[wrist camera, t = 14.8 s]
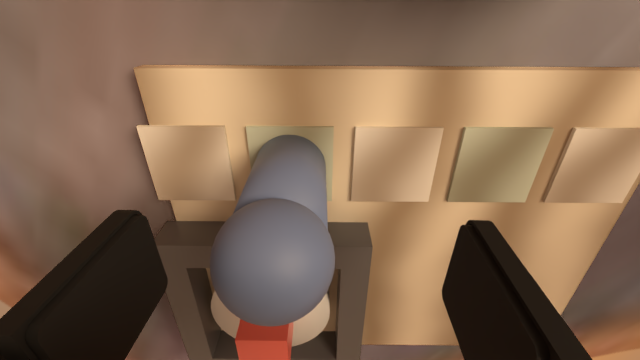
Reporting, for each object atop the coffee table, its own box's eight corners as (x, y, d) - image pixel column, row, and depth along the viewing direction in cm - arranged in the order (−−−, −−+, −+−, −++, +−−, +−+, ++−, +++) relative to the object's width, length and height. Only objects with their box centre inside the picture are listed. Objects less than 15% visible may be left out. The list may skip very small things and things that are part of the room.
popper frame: (367, 222, 17) (372, 247, 15) (355, 344, 22) (358, 373, 20) (167, 221, 17) (149, 245, 15) (203, 343, 22) (193, 371, 21)
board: (685, 67, 14) (710, 71, 13) (535, 335, 23) (544, 348, 22) (131, 65, 14) (118, 68, 13) (207, 332, 23) (202, 345, 22)
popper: (330, 251, 18) (332, 312, 14) (328, 328, 21) (329, 392, 18) (208, 250, 18) (181, 311, 14) (226, 328, 21) (207, 391, 18)
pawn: (333, 133, 14) (346, 262, 7) (326, 202, 16) (330, 358, 9) (250, 127, 14) (179, 252, 7) (252, 197, 16) (198, 351, 9)
